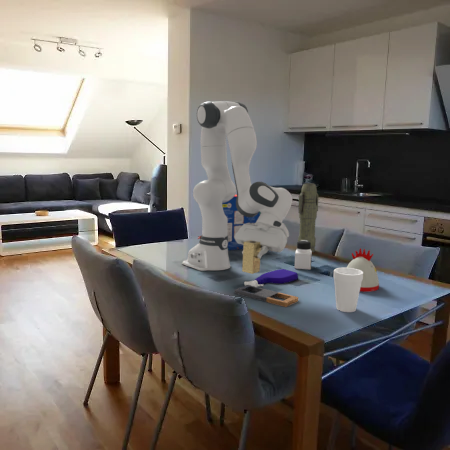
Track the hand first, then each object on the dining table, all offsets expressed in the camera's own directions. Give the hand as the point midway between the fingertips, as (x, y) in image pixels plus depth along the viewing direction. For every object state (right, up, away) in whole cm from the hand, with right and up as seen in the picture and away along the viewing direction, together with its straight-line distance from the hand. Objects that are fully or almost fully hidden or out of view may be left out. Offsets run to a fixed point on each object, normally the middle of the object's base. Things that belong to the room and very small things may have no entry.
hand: (250, 255), depth 167 cm
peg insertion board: (+5, -15, -1) cm, 16 cm away
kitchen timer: (+44, -13, +14) cm, 48 cm away
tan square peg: (0, -6, +2) cm, 6 cm away
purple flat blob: (+9, -12, +18) cm, 24 cm away
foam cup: (+31, -17, -12) cm, 38 cm away
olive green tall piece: (+33, -3, +73) cm, 81 cm away
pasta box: (-4, -1, +78) cm, 78 cm away
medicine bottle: (+26, -8, +41) cm, 49 cm away
